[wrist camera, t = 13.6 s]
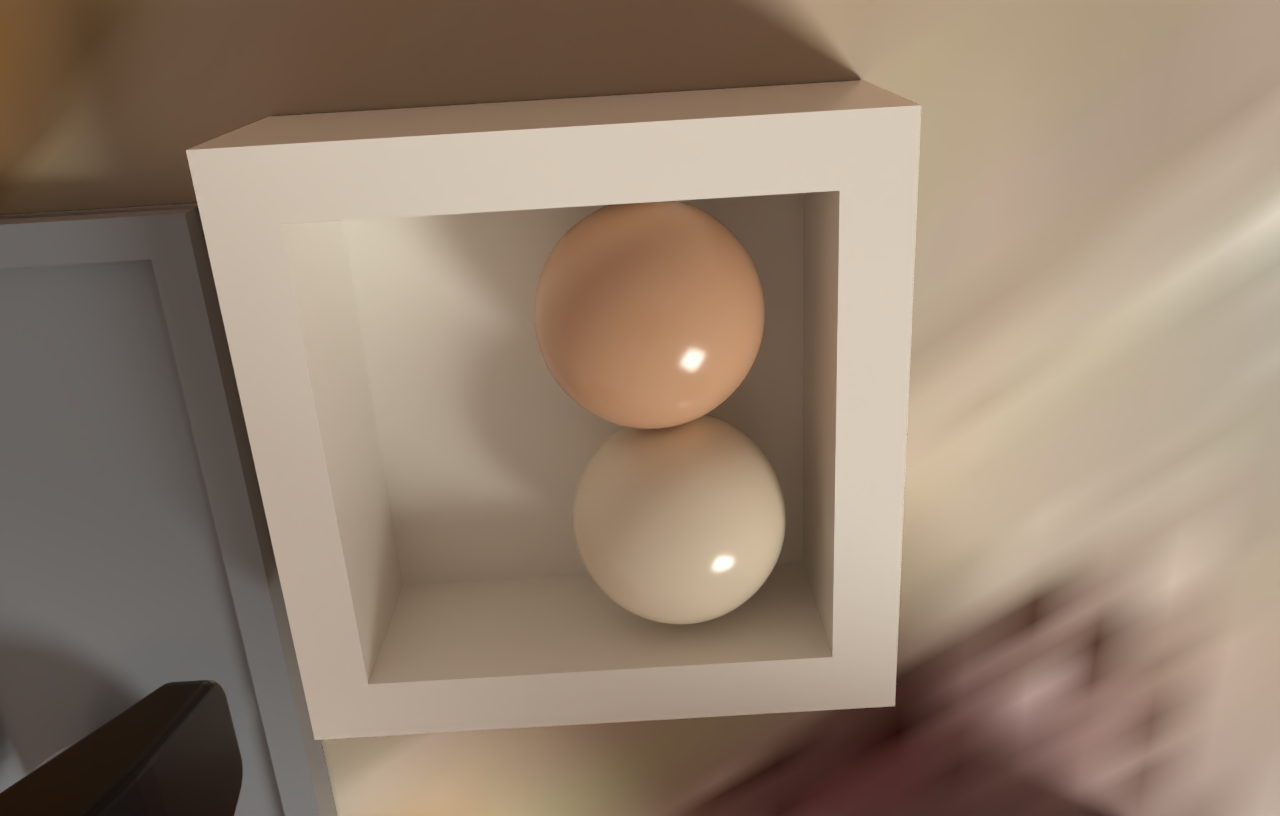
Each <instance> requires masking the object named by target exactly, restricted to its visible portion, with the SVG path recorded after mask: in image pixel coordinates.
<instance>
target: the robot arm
mask: <svg viewBox="0 0 1280 816" xmlns="http://www.w3.org/2000/svg"><path fill="white" fill-rule="evenodd" d="M242 779H243V763H242V757H241V752H240V748H239V744H238V740H237V736H236V732H235V728H234V725H233V721H232V717H231V713H230V709H229V705H228V701H227V697H226V694H225V692H224V690H223V688H222V686H221V685H220V684H219V683H217V682H215V681H214V680H196V681H178V682H170V683H166V684H164V685H162V686H161V687H159V688H158V689H156V690H155V691H153V692H152V693H150V694H149V695H147V696H146V697H144V698H143V699H141V700H140V701H138V702H137V703H135V704H134V705H132V706H131V707H129V708H128V709H126V710H124V711H123V712H121V713H120V714H118V715H117V716H115V717H114V718H112V719H111V720H109V721H108V722H106V723H105V724H103V725H102V726H100V727H99V728H97V729H96V730H94V731H93V732H91V733H90V734H88V735H87V736H85V737H84V738H82V739H81V740H79V741H78V742H76V743H75V744H73V745H72V746H70V747H69V748H67V749H66V750H64V751H63V752H61V753H60V754H58V755H57V756H55V757H54V758H52V759H51V760H49V761H48V762H46V763H45V764H43V765H42V766H40V767H39V768H37V769H36V770H34V771H33V772H31V773H30V774H28V775H26V776H25V777H23V778H22V779H20V780H19V781H17V782H16V783H14V784H13V785H11V786H10V787H8V788H7V789H5V790H4V791H2V792H1V793H0V816H234V815H235V811H236V807H237V803H238V799H239V795H240V792H241V787H242Z"/></svg>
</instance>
